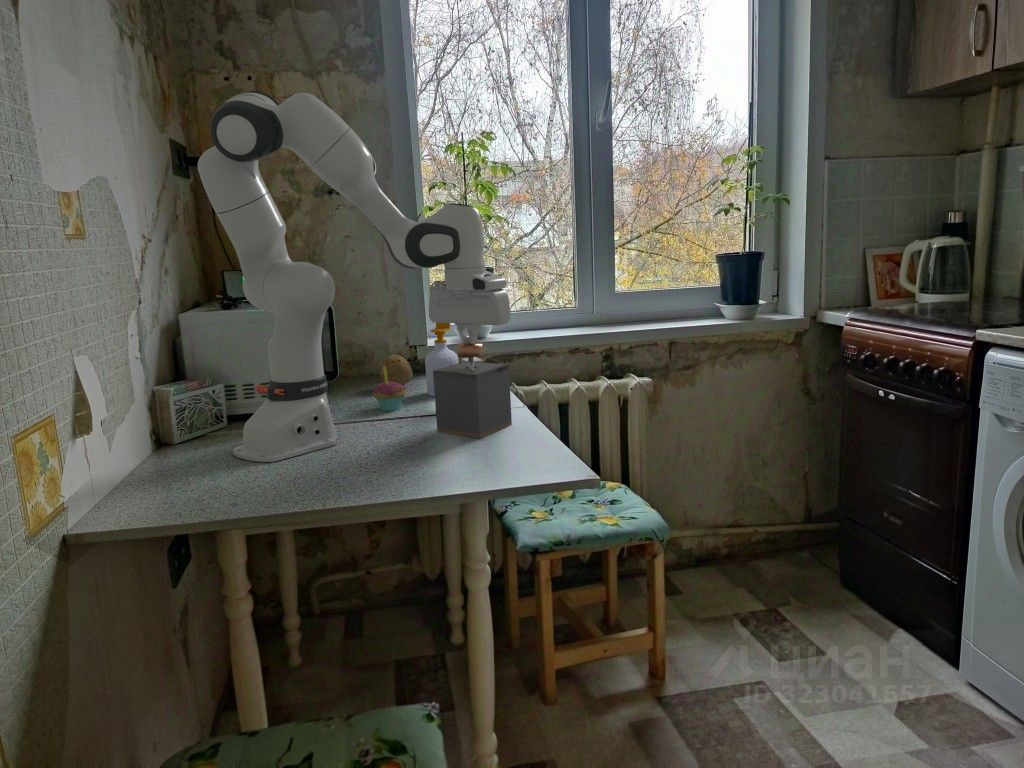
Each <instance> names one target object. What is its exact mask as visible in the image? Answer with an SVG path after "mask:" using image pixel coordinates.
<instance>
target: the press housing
mask: <svg viewBox="0 0 1024 768" xmlns="http://www.w3.org/2000/svg"><path fill="white" fill-rule="evenodd" d="M433 378H434V392H435V397H434V400H435V401H434V403H435V404H434V405H435V416H436V431H437V433H443V434H448V435H454V436H460V437H467V438H473V439H483V438H485V437H487V436H490V435H491V434H495V433H497V432H499V431H501V430H503V429H505V428H507V427H510V426H512V425H513V423H512V419H513V418H512V404H511V403H512V402H511V399H512V398H511V384H510V383H511V381H510V364H508V363H496V362H484V361H483V362H474V369H469V367H468V361H464V362H461V361H460V362H458V364H454V365H451V366H447V367H444V368H440V369H437V370H434V371H433Z"/></svg>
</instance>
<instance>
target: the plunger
mask: <svg viewBox="0 0 1024 768" xmlns="http://www.w3.org/2000/svg"><path fill="white" fill-rule="evenodd" d="M483 344H484V343H483V342H479V341H478V343H477V344H475V345H471V344H463V343H462V342H460V343H458V344H456V350H457V351H456V352H457V356H458V358H459V357H460V358H468V367H469V369H474V360H473V357H477V358H478V357H481V356H483V355H484V347H483V346H484V345H483Z"/></svg>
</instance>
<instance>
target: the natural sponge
mask: <svg viewBox="0 0 1024 768" xmlns="http://www.w3.org/2000/svg"><path fill="white" fill-rule="evenodd" d="M383 364H384V365H383ZM384 366H385V367H386V373H387V380H388V381H394V382H398V383H400V384H402V385H403V386H404V387H405V385H406V384H408V383H409V382H410V381H411V380H412V378H413V375H414V374H413V371H412V370H413V369H412V367H411V365H410V364H409V362H408V360H407V359H406V358H405V357H403V356H401V355H398V354H390V355H388V356H386V358H385V359H383V361H382V363H381V364H380V371H379V376H380V378H381V380H382V381H383V382H385V378H384V371H383V367H384Z"/></svg>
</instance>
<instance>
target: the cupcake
mask: <svg viewBox="0 0 1024 768" xmlns="http://www.w3.org/2000/svg"><path fill="white" fill-rule="evenodd" d="M383 365H384V364H383ZM383 371H384V378H385V381H383V382H379V383H377V384H376V385H375V386H374V387H373V389H372V396H373V397H374V399H376V400H377V402H378V404H379V406H380V409H381V411H384V412H392V411H397V410H400V409H401V406H402V402H403V399H404V396H405V395H406V394H407V391H406V387H405V385H404V386H403V385H402V384H400V383H398V382H394V381H388V380H387V373H386V367H385V366H384V367H383Z"/></svg>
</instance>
